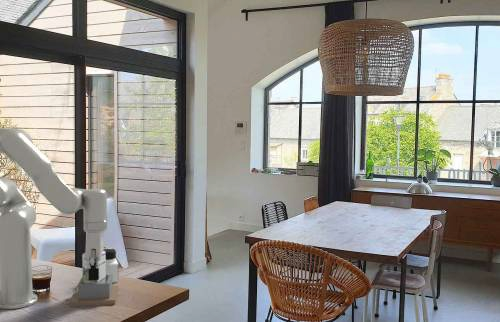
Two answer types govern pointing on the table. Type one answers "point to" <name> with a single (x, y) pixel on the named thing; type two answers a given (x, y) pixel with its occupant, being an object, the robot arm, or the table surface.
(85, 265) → the syrup box
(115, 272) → the medicine bottle
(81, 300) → the socket
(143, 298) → the table surface
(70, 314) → the table surface
